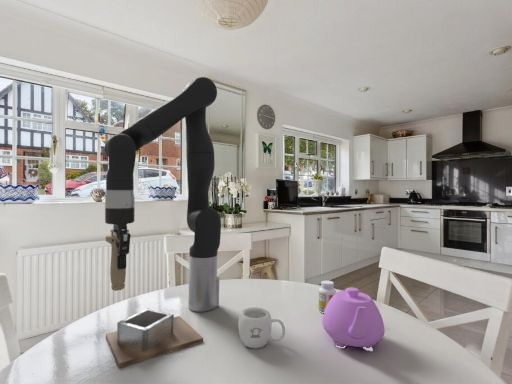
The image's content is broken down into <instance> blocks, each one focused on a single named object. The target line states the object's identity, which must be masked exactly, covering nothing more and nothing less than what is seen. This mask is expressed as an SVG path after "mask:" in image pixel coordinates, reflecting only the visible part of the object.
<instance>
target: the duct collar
mask: <svg viewBox="0 0 512 384" xmlns="http://www.w3.org/2000/svg"><path fill="white" fill-rule="evenodd" d="M174 317H175V314H173V313H171V312H165V311H160V310H157V309H152V308H150V307H149V308H146V309H143V310H141V311H139V312H137V313H135V314H133V315H130V316H128V317H126V318H124V319H123V320H120V321H118V322H117V323H116V326H117V330H116V331H117V343H118V344H122V345H125V346H128V347H131V348H134V349H138V350H141V351H144V352H145V351H147V350H148V349H150V348H152V347H153V346H155V345H156V344H158V343H159V342H161V341H162V340H164V339H165V338H167V337H168V336H170V335H171V334H173V325H174Z"/></svg>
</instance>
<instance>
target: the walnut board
mask: <svg viewBox="0 0 512 384" xmlns="http://www.w3.org/2000/svg"><path fill="white" fill-rule="evenodd" d="M105 339H106V342H107V344H108V346H109V348H110V351H111V354H112V356H113V358H114V361H115V363H116V365H117V367H118V369H120V368H123V367H127V366H130V365H133V364H137V363H139V362H140V363H141V362H142V361H143V362H144V361H146V360H149V359H152V358H156V357H159V356H161V355H165V354H169V353H171V352H175V351H178V350H181V349H185V348H188V347H191V346H194V345H198V344H200V343H203V342H204V337H203V336H202V335H201V334H200V333H198V331H197V330H196V329H194V327H192V326H191V325H190V324H189V323H188V322H187V321H186V320H185V319H183V317H182V316H180V315H178V316H174V325H173V334H171V335H170V336H168V337H167V338H165V339H164V340H162V341H161V342H159V343H158V344H156V345H155V346H153V347H152V348H150V349H148V350H147V351H145V352H144V351H141V350H138V349H134V348H131V347H128V346H125V345H122V344H118V343H117V330H115V331H112V332H107V333H105Z"/></svg>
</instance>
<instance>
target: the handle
mask: <svg viewBox="0 0 512 384" xmlns="http://www.w3.org/2000/svg"><path fill="white" fill-rule="evenodd" d="M115 239H116V241H117V243H118V244H119V240H118V237H113V236H112V235H111V234H109V235H106V236H105V241H106V243H108V244H110V247H111V249H110V251H111V252H110V253H111V254H110V272H109V273H110V275H109V277H110V283H111V287H110V288H111V290H112V291H115V292H117V291H122V290H124V289H125V287H126V286H125V285H126V276H127V275H126V273H127V272H126V271H127V267H126V268H125V269H118V268H117V248H116V247H115ZM121 250H124V247H122V249H121Z"/></svg>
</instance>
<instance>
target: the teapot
mask: <svg viewBox="0 0 512 384" xmlns="http://www.w3.org/2000/svg"><path fill="white" fill-rule="evenodd" d="M321 321H322V322H321V323H322V326H323V330H325V332H326V333H327V335H328V336H329V337H330V338H331V339H332V340H334V341H336V342H335V344H336V345H337V346H340V347H344V346H346V345H347V346H351V347H358V348H362V347H366V348H370V347H372V346H373V347H374V346H375V345H376V344H378V343H379V342H380V341H381V340H382V339H383V338H384V336H385V330H386V329H385V325H384V324H385V323H384V319H383V317H382V314H381V312H380V310H379V308H378V306H377V305H376V303H375V301H374V300H373V298H372V297H371V296H370V295H368V294H367V293H364V292H361V291H360V289H359V288H357V287H351V286H350V287H346V289H344V290H339V291H336V293H335V294H334V296H333V297H332V298H331V300H330V301H329V303H328V304H327V306H326V308H325V311H324V314H323V315H322V319H321ZM347 346H346V347H347Z"/></svg>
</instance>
